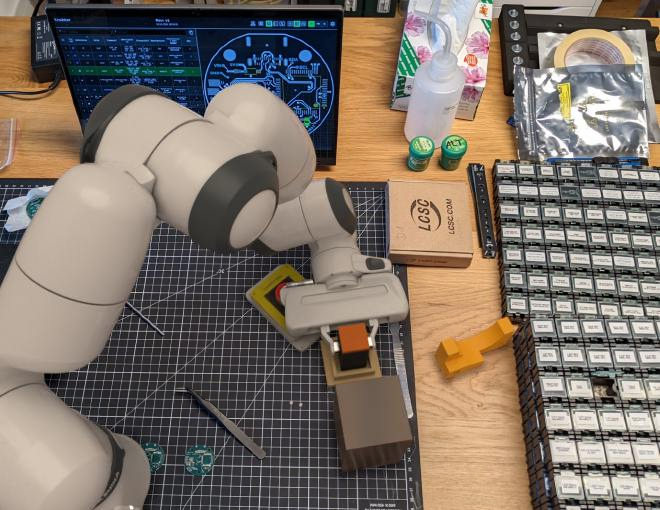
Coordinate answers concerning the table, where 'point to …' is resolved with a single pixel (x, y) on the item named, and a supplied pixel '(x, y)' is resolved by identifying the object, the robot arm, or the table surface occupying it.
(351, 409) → the stand
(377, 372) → the base pad
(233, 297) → the table surface
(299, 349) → the emergency button
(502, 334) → the orange curved piece
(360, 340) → the orange and black block
